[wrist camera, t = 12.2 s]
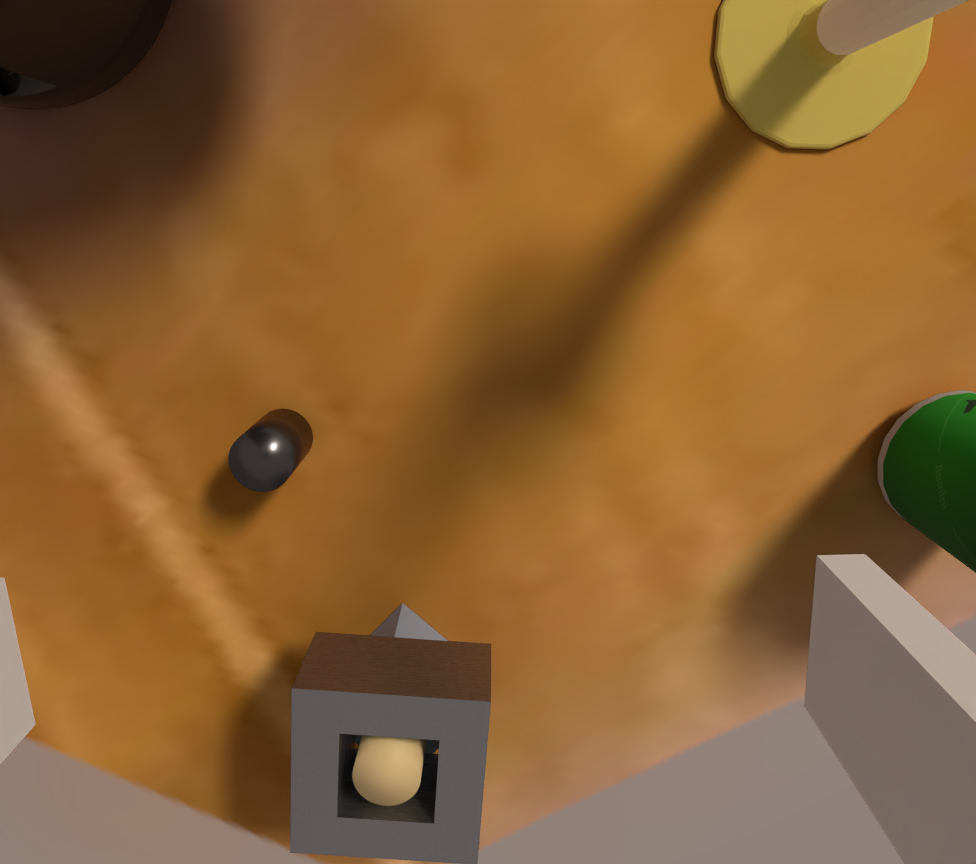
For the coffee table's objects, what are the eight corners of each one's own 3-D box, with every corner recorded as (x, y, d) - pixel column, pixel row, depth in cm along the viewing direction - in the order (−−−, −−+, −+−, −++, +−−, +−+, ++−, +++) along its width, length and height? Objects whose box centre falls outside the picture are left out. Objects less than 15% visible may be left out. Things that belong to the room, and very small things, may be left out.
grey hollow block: (313, 780, 43) (290, 852, 38) (315, 631, 40) (291, 688, 36) (478, 791, 43) (477, 864, 38) (491, 643, 41) (490, 701, 36)
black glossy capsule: (244, 437, 42) (215, 463, 38) (280, 397, 41) (255, 418, 37) (288, 474, 42) (265, 504, 38) (324, 435, 42) (304, 460, 37)
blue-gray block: (333, 671, 46) (295, 779, 37) (402, 603, 44) (380, 697, 36) (411, 733, 47) (392, 852, 38) (480, 668, 45) (477, 774, 37)
